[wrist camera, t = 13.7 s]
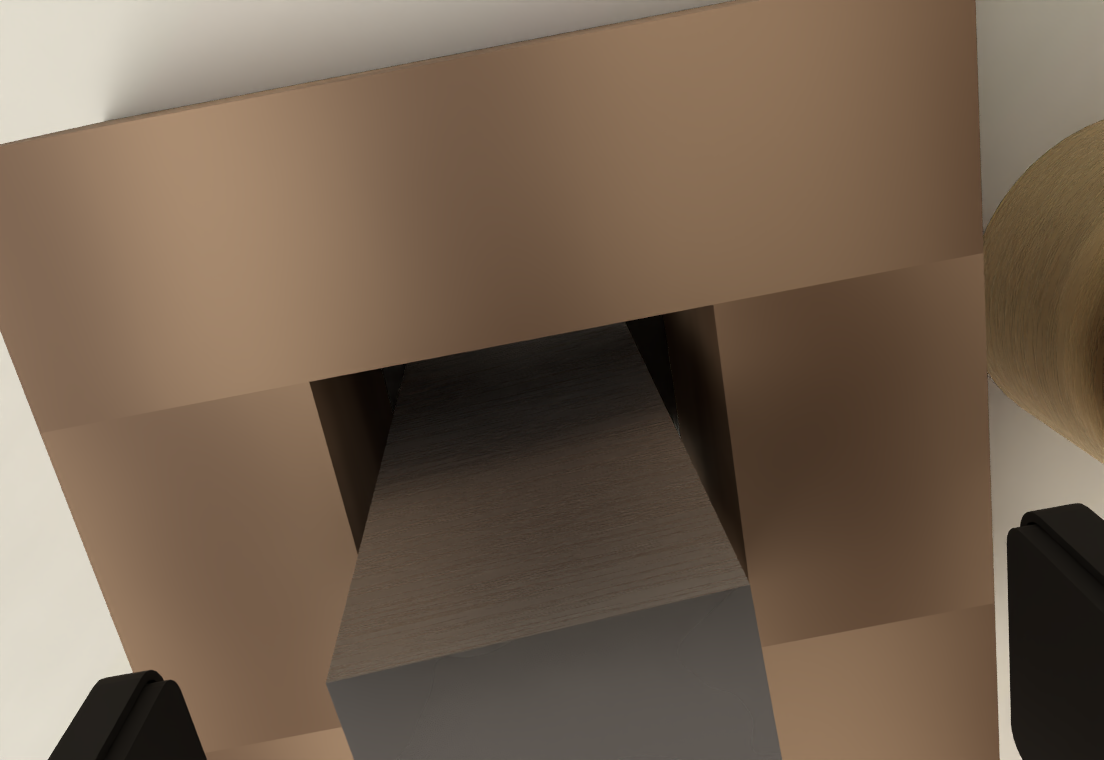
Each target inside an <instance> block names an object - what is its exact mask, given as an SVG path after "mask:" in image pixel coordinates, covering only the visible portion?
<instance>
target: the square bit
mask: <svg viewBox="0 0 1104 760" xmlns="http://www.w3.org/2000/svg"><path fill="white" fill-rule="evenodd" d="M326 686H327V688H328V691H329V694H330V696H331V699H332V702H333V704H334V707H335V710H336V713H337V715H338V718H339V721H340V723H341V726H342V729H343V731H344V734H345V737H346V740H347V742H348V745H349V748H350V750H351V753H352V756H353V758H354V760H782V756H781V750H780V745H779V740H778V734H777V729H776V723H775V718H774V712H773V707H772V702H771V696H770V691H769V685H768V680H767V674H766V669H765V664H764V658H763V653H762V647H761V642H760V636H759V631H758V626H757V620H756V615H755V609H754V604H753V598H752V593H751V588H750V584H749V582H748V580H747V577H746V575H745V573H744V571H743V569H742V567H741V565H740V563H739V561H738V559H737V556H736V554H735V552H734V550H733V548H732V546H731V544H730V542H729V540H728V537H727V535H726V533H725V531H724V529H723V527H722V525H721V523H720V521H719V519H718V516H717V514H716V512H715V510H714V508H713V506H712V504H711V502H710V500H709V497H708V495H707V493H706V491H705V489H704V487H703V485H702V483H701V481H700V479H699V476H698V474H697V472H696V470H695V468H694V466H693V464H692V462H691V460H690V458H689V455H688V453H687V451H686V449H685V447H684V445H683V443H682V441H681V439H680V436H679V434H678V432H677V430H676V428H675V426H674V424H673V422H672V420H671V418H670V415H669V413H668V411H667V409H666V407H665V405H664V403H663V401H662V399H661V396H660V394H659V392H658V390H657V388H656V386H655V384H654V382H653V380H652V378H651V375H650V373H649V371H648V369H647V367H646V365H645V363H644V361H643V359H642V356H641V354H640V352H639V350H638V348H637V346H636V344H635V342H634V340H633V338H632V335H631V333H630V331H629V329H628V327H627V325H626V323H625V322H620V323H614V324H609V325H604V326H599V327H593V328H588V329H583V330H578V331H573V332H567V333H562V334H557V335H552V336H546V337H541V338H536V339H531V340H525V341H520V342H515V343H510V344H504V345H499V346H494V347H489V348H484V349H478V350H473V351H468V352H463V353H457V354H452V355H447V356H442V357H436V358H431V359H426V360H421V361H416V362H410V363H406V367H405V371H404V375H403V379H402V383H401V387H400V391H399V395H398V399H397V403H396V407H395V411H394V415H393V419H392V423H391V427H390V431H389V435H388V439H387V443H386V447H385V450H384V454H383V458H382V462H381V466H380V470H379V474H378V478H377V482H376V486H375V490H374V494H373V498H372V502H371V506H370V510H369V514H368V518H367V522H366V526H365V530H364V534H363V538H362V541H361V545H360V549H359V553H358V557H357V561H356V565H355V569H354V573H353V577H352V581H351V585H350V589H349V593H348V597H347V601H346V605H345V609H344V613H343V617H342V621H341V625H340V629H339V632H338V636H337V640H336V644H335V648H334V652H333V656H332V660H331V664H330V668H329V672H328V676H327V680H326Z"/></svg>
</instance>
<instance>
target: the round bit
mask: <svg viewBox="0 0 1104 760" xmlns="http://www.w3.org/2000/svg"><path fill="white" fill-rule="evenodd" d="M983 255H984V286H985V318H986V349H987V371H988V373H989V374H990V376H991V377H992V379H993V381H994V382H995V383H996V384H997V385H998V387H999V388H1000V389H1001V390H1002V391H1003V392H1004V393H1005V394H1006V396H1008V397H1009V398H1010V399H1011V400H1012V401H1014V402H1015V403H1016V404H1017V405H1019V406H1020V407H1021V408H1023V409H1024V410H1025V411H1027V412H1028V413H1030V414H1031V415H1033V416H1034V417H1036V418H1037V419H1039V420H1040V421H1041V422H1043V423H1044V424H1046V425H1047V426H1049V427H1050V428H1052V429H1053V430H1055V431H1056V432H1057V433H1059V434H1060V435H1062V436H1063V437H1065V438H1066V439H1068V440H1069V441H1071V442H1072V443H1073V444H1075V445H1076V446H1078V447H1079V448H1081V449H1082V450H1084V451H1085V452H1087V453H1088V454H1089V455H1091V456H1092V457H1094V458H1095V459H1097V460H1098V461H1100V462H1101V463H1103V464H1104V120H1101V121H1099V122H1096V123H1094V124H1092V125H1089V126H1087V127H1085V128H1083V129H1081V130H1080V131H1078V132H1076V133H1074V134H1072V135H1071V136H1069V137H1067V138H1066V139H1064V140H1063V141H1061V142H1060V143H1059V144H1057V145H1056V146H1054V147H1053V148H1052V149H1050V150H1049V151H1047V152H1046V153H1045V154H1044V155H1043V156H1042V157H1041V158H1039V159H1038V160H1037V161H1036V162H1035V163H1034V164H1033V165H1032V166H1031V167H1029V168H1028V169H1027V171H1026V172H1025V173H1024V174H1023V175H1022V176H1021V177H1020V178H1019V180H1018V181H1017V182H1016V183H1015V184H1014V185H1013V186H1012V188H1011V189H1010V191H1009V192H1008V193H1007V195H1006V196H1005V198H1004V199H1003V200H1002V202H1001V203H1000V205H999V206H998V208H997V210H996V212H995V213H994V215H993V217H992V219H991V221H990V222H989V224H988V226H987V229H986V231H985V233H984V236H983Z"/></svg>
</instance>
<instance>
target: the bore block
mask: <svg viewBox="0 0 1104 760" xmlns="http://www.w3.org/2000/svg"><path fill="white" fill-rule="evenodd" d="M662 314H663V320H664V327H665V334H666V340H667V347H668V354H669V361H670V367H671V374H672V381H673V388H674V394H675V401H676V408H677V415H678V422H679V428H680V435H681V441H682V443H683V445H684V447H685V449H686V451H687V453H688V455H689V458H690V460H691V462H692V464H693V466H694V468H695V470H696V472H697V474H698V476H699V479H700V481H701V483H702V485H703V487H704V489H705V491H706V493H707V495H708V497H709V500H710V502H711V504H712V506H713V508H714V510H715V512H716V514H717V516H718V519H719V521H720V523H721V525H722V527H723V529H724V531H725V533H726V535H727V537H728V540H729V542H730V544H731V546H732V548H733V550H734V552H735V554H736V556H737V559H738V561H739V563H740V565H741V567H742V569H743V571H744V573H745V575H746V577H747V580H748V582H749V584H750V588H751V593H752V598H753V604H754V609H755V615H756V620H757V626H758V631H759V636H760V642H761V647H762V653H763V658H764V664H765V669H766V674H767V680H768V685H769V691H770V696H771V702H772V707H773V712H774V718H775V723H776V729H777V734H778V740H779V745H780V750H781V756H782V760H1000V758H999V727H998V695H997V664H996V632H995V601H994V569H993V538H992V506H991V475H990V444H989V412H988V381H987V349H986V318H985V286H984V255H983V223H982V192H981V160H980V129H979V97H978V66H977V34H976V3H975V0H735V1H730V2H724V3H719V4H714V5H709V6H704V7H698V8H693V9H688V10H683V11H678V12H672V13H667V14H662V15H657V16H652V17H646V18H641V19H636V20H631V21H625V22H620V23H615V24H610V25H605V26H599V27H594V28H589V29H584V30H579V31H573V32H568V33H563V34H558V35H553V36H547V37H542V38H537V39H532V40H527V41H521V42H516V43H511V44H506V45H501V46H495V47H490V48H485V49H480V50H475V51H469V52H464V53H459V54H454V55H448V56H443V57H438V58H433V59H428V60H422V61H417V62H412V63H407V64H402V65H396V66H391V67H386V68H381V69H376V70H370V71H365V72H360V73H355V74H350V75H344V76H339V77H334V78H329V79H324V80H318V81H313V82H308V83H303V84H298V85H292V86H287V87H282V88H277V89H272V90H266V91H261V92H256V93H251V94H245V95H240V96H235V97H230V98H225V99H219V100H214V101H209V102H204V103H199V104H193V105H188V106H183V107H178V108H173V109H167V110H162V111H157V112H152V113H147V114H141V115H136V116H131V117H126V118H121V119H115V120H110V121H105V122H100V123H96V124H91V125H86V126H82V127H77V128H73V129H68V130H64V131H59V132H55V133H50V134H45V135H41V136H36V137H32V138H27V139H23V140H18V141H14V142H9V143H5V144H0V331H1V333H2V336H3V339H4V341H5V344H6V346H7V349H8V352H9V354H10V357H11V359H12V362H13V364H14V367H15V370H16V372H17V375H18V377H19V380H20V382H21V385H22V388H23V390H24V393H25V395H26V398H27V400H28V403H29V406H30V408H31V411H32V413H33V416H34V418H35V421H36V424H37V426H38V429H39V431H40V434H41V437H42V439H43V442H44V444H45V447H46V449H47V452H48V455H49V457H50V460H51V462H52V465H53V467H54V470H55V473H56V475H57V478H58V480H59V483H60V485H61V488H62V491H63V493H64V496H65V498H66V501H67V503H68V506H69V509H70V511H71V514H72V516H73V519H74V522H75V524H76V527H77V529H78V532H79V534H80V537H81V540H82V542H83V545H84V547H85V550H86V552H87V555H88V558H89V560H90V563H91V565H92V568H93V570H94V573H95V576H96V578H97V581H98V583H99V586H100V588H101V591H102V594H103V596H104V599H105V601H106V604H107V607H108V609H109V612H110V614H111V617H112V619H113V622H114V625H115V627H116V630H117V632H118V635H119V637H120V640H121V643H122V645H123V648H124V650H125V653H126V655H127V658H128V661H129V663H130V666H131V668H132V671H133V673H135V672H141V671H147V670H154V671H157V672H158V673H159V674H160V675H161V676H162V678H163V680H164V681H165V680H170V679H171V680H174V681H175V682H176V683H177V684H178V685H179V687H180V689H181V691H182V694H183V697H184V699H185V702H186V705H187V707H188V710H189V713H190V715H191V718H192V721H193V723H194V726H195V729H196V731H197V734H198V737H199V739H200V742H201V745H202V747H203V750H204V753H205V756H206V758H207V760H354V758H353V756H352V753H351V750H350V748H349V745H348V742H347V740H346V737H345V734H344V731H343V729H342V726H341V723H340V721H339V718H338V715H337V713H336V710H335V707H334V704H333V702H332V699H331V696H330V694H329V691H328V688H327V686H326V680H327V676H328V672H329V668H330V664H331V660H332V656H333V652H334V648H335V644H336V640H337V636H338V632H339V629H340V625H341V621H342V617H343V613H344V609H345V605H346V601H347V597H348V593H349V589H350V585H351V581H352V577H353V573H354V569H355V565H356V561H357V557H358V553H359V549H360V545H361V541H362V538H363V534H364V530H365V526H366V522H367V518H368V514H369V510H370V506H371V502H372V498H373V494H374V490H375V486H376V482H377V478H378V474H379V470H380V466H381V462H382V458H383V454H384V450H385V447H386V443H387V439H388V435H389V431H390V427H391V423H392V419H393V411H392V407H391V403H390V400H389V396H388V392H387V388H386V384H385V380H384V376H383V372H382V368H384V367H389V366H395V365H400V364H405V363H410V362H416V361H421V360H426V359H431V358H436V357H442V356H447V355H452V354H457V353H463V352H468V351H473V350H478V349H484V348H489V347H494V346H499V345H504V344H510V343H515V342H520V341H525V340H531V339H536V338H541V337H546V336H552V335H557V334H562V333H567V332H573V331H578V330H583V329H588V328H593V327H599V326H604V325H609V324H614V323H620V322H625V321H630V320H635V319H641V318H646V317H651V316H656V315H662Z"/></svg>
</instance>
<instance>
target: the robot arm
mask: <svg viewBox="0 0 1104 760" xmlns="http://www.w3.org/2000/svg"><path fill="white" fill-rule="evenodd" d="M1007 570H1008V614H1009V657H1010V700H1011V727H1012V733H1013V738H1014V741H1015V744H1016V747H1017V749H1018V751H1019V754H1020V756H1021V757H1022V759H1023V760H1104V520H1103V519H1101V518H1100V517H1099V516H1098V515H1097V514H1095V513H1094V512H1093V511H1092V510H1091V509H1089V508H1088V507H1086V506H1085V505H1083V504H1080V503H1075V504H1069V505H1064V506H1058V507H1053V508H1047V509H1042V510H1036V511H1030V512H1027V513H1026V514H1024V515H1023V517H1022V520H1021V524H1020V527H1017V528H1012V529H1011V530H1010V531H1009V533H1008V535H1007ZM48 760H207V758H206V756H205V753H204V750H203V747H202V745H201V742H200V739H199V737H198V734H197V731H196V729H195V726H194V723H193V721H192V718H191V715H190V713H189V710H188V707H187V705H186V702H185V699H184V697H183V694H182V691H181V689H180V687H179V685H178V684H177V683H176V682H175V681H174V680H171V679H170V680H165V681H164V680H163V678H162V676H161V675H160V674H159V673H158V672H157V671H154V670H147V671H141V672H135V673H130V674H124V675H119V676H113V677H108V678H104V679H101V680H99V681H98V682H97V683H96V684H95V686H94V687H93V688H92V690H91V692H90V693H89V695H88V696H87V698H86V700H85V701H84V703H83V704H82V706H81V708H80V709H79V711H78V712H77V714H76V716H75V717H74V719H73V720H72V722H71V724H70V725H69V727H68V728H67V730H66V731H65V733H64V735H63V736H62V738H61V739H60V741H59V743H58V744H57V746H56V747H55V749H54V751H53V752H52V754H51V755H50V757H49V759H48Z"/></svg>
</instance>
